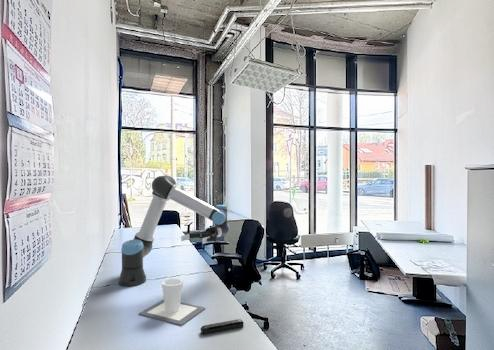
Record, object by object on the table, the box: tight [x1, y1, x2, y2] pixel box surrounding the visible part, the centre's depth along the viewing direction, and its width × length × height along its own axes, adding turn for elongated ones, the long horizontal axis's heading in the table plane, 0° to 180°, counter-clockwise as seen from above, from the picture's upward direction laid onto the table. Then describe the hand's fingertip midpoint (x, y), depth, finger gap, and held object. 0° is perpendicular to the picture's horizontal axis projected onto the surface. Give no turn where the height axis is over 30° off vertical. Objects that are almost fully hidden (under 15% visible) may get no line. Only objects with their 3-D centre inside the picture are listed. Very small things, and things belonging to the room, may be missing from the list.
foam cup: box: [161, 278, 184, 313], centre depth 147 cm, size 10×9×13 cm
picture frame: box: [138, 299, 206, 327], centre depth 147 cm, size 24×18×1 cm
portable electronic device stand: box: [200, 318, 244, 336], centre depth 131 cm, size 18×3×3 cm, turn 112°
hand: (192, 239), depth 171 cm, fingers open, 13 cm apart
